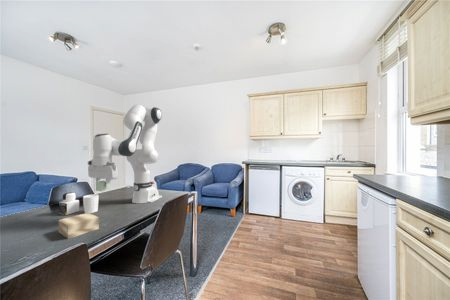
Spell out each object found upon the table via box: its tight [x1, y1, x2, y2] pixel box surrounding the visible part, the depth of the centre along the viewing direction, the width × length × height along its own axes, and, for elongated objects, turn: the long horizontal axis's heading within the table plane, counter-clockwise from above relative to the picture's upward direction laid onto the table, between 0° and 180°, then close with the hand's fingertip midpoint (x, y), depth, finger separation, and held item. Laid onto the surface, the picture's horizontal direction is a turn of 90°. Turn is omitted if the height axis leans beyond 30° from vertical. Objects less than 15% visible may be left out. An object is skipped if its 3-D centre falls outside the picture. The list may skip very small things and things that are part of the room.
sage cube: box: [95, 179, 111, 192], centre depth 104 cm, size 5×5×5 cm
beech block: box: [58, 212, 100, 240], centre depth 88 cm, size 12×12×6 cm
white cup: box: [82, 193, 100, 214], centre depth 114 cm, size 8×8×10 cm
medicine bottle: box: [58, 192, 80, 216], centre depth 113 cm, size 7×7×12 cm
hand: (103, 186), depth 104 cm, fingers closed on sage cube, 5 cm apart
